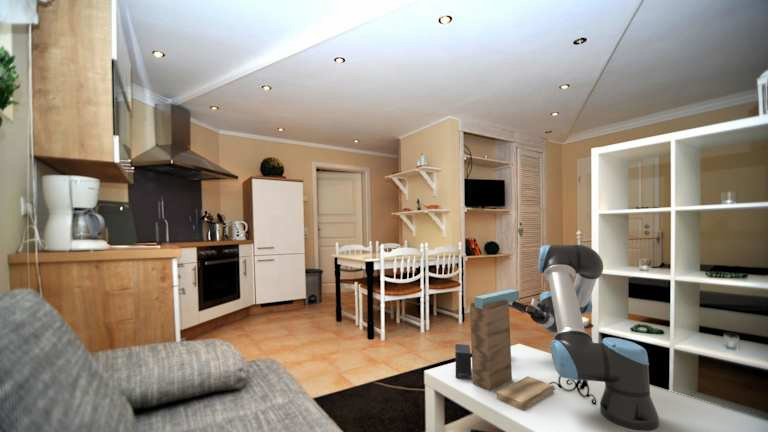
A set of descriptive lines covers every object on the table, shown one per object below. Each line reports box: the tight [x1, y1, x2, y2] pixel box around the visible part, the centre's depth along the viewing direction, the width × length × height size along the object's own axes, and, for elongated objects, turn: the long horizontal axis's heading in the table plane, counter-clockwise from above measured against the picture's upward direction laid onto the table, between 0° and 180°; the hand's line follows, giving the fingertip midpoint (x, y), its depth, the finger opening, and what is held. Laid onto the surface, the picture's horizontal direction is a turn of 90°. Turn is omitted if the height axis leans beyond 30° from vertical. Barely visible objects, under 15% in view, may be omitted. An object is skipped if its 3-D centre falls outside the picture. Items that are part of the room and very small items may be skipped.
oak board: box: [495, 376, 554, 411], centre depth 124 cm, size 10×20×2 cm, turn 127°
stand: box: [469, 300, 513, 392], centre depth 136 cm, size 8×14×32 cm, turn 126°
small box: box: [454, 343, 472, 379], centre depth 144 cm, size 11×6×10 cm, turn 168°
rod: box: [473, 288, 520, 309], centre depth 139 cm, size 4×24×4 cm, turn 126°
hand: (517, 299), depth 149 cm, fingers open, 13 cm apart
